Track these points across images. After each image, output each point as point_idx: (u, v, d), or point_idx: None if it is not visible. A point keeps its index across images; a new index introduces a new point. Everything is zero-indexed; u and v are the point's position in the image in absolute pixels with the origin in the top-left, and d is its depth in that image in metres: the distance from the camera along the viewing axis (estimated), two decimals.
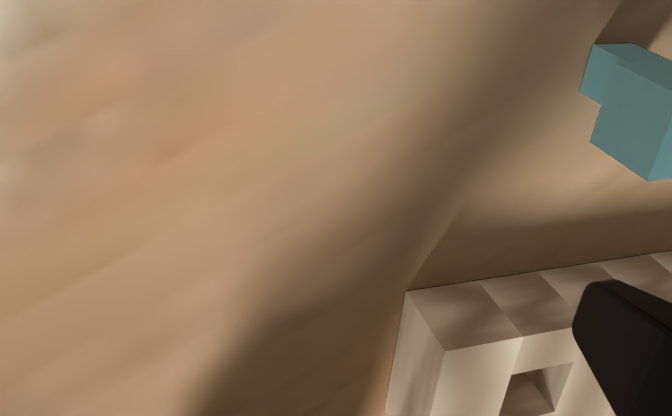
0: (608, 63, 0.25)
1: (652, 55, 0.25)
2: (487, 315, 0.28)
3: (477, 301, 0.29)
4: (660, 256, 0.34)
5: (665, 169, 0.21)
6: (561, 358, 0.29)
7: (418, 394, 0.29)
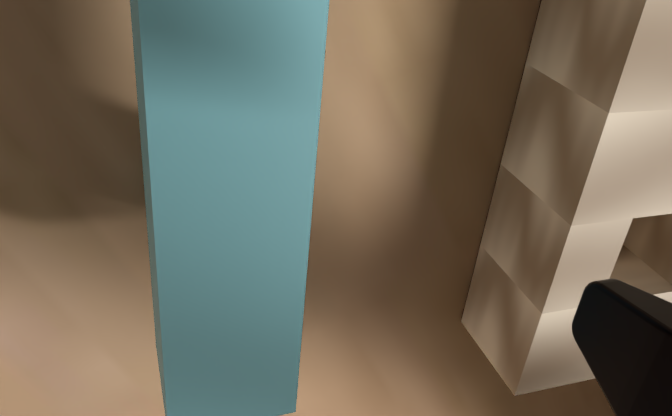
0: None
1: None
2: (509, 302, 0.22)
3: (495, 284, 0.23)
4: None
5: (280, 397, 0.15)
6: (614, 241, 0.20)
7: None
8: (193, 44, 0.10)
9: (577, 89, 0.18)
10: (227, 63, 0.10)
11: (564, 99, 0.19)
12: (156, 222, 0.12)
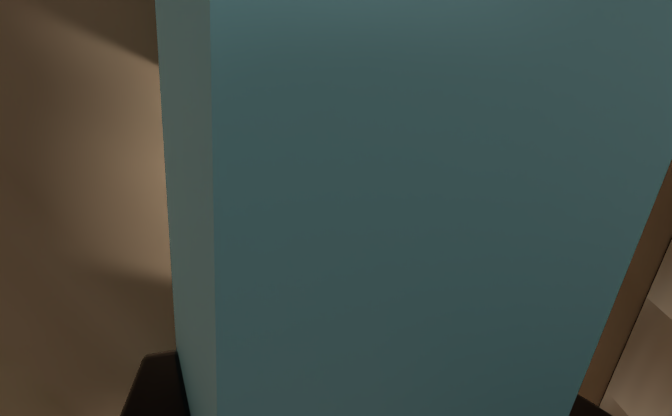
0: None
1: None
2: None
3: None
4: None
5: None
6: None
7: None
8: (334, 396, 0.04)
9: None
10: (401, 413, 0.05)
11: None
12: None
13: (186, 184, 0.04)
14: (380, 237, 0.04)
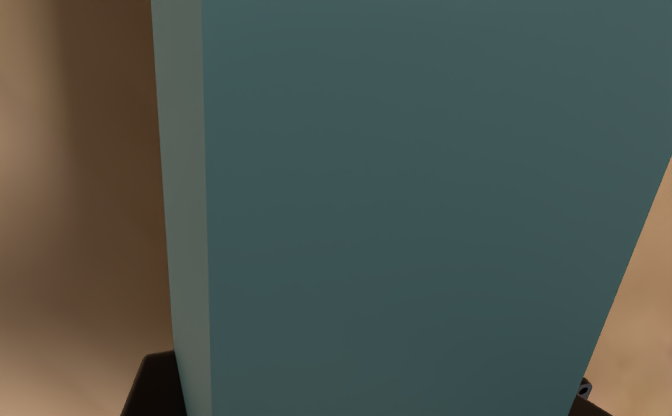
0: None
1: None
2: None
3: None
4: None
5: None
6: None
7: None
8: (330, 396, 0.04)
9: None
10: (399, 412, 0.05)
11: None
12: None
13: (181, 180, 0.04)
14: (377, 233, 0.04)
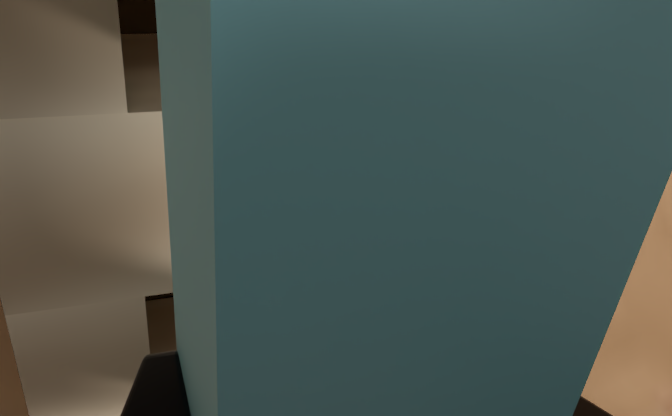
0: None
1: None
2: None
3: None
4: None
5: None
6: (125, 333, 0.12)
7: None
8: (336, 396, 0.04)
9: None
10: (404, 413, 0.05)
11: None
12: None
13: (186, 180, 0.04)
14: (384, 232, 0.04)
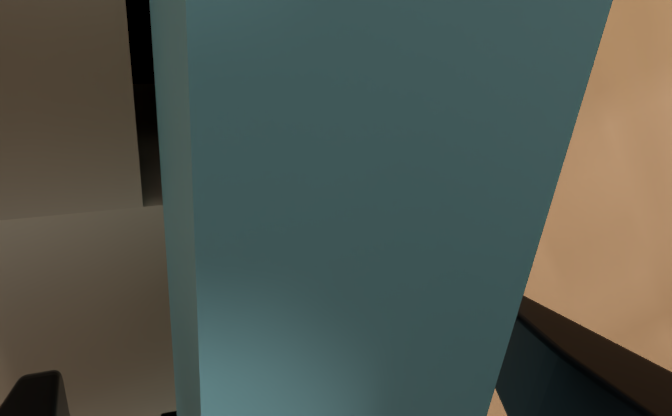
0: None
1: None
2: None
3: None
4: None
5: None
6: None
7: None
8: (297, 301, 0.05)
9: None
10: (358, 321, 0.05)
11: None
12: None
13: (172, 121, 0.05)
14: (331, 155, 0.04)
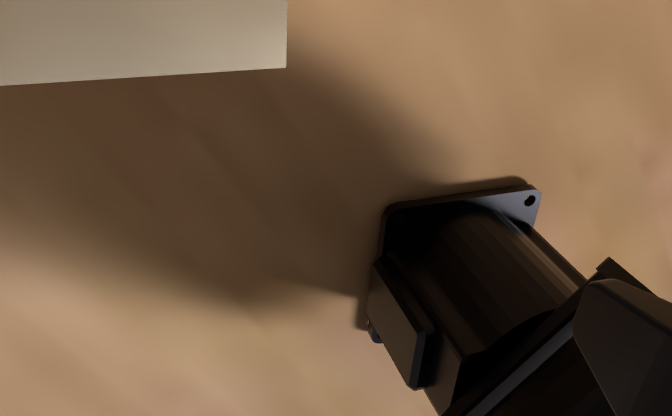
0: None
1: None
2: None
3: None
4: None
5: None
6: None
7: None
8: None
9: None
10: None
11: None
12: None
13: None
14: None
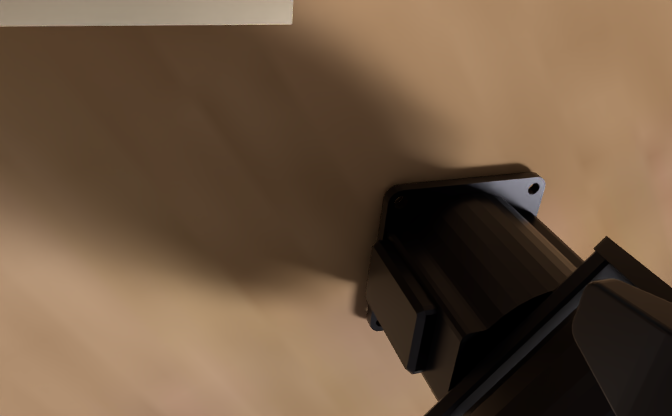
0: None
1: None
2: None
3: None
4: None
5: None
6: None
7: None
8: None
9: None
10: None
11: None
12: None
13: None
14: None
